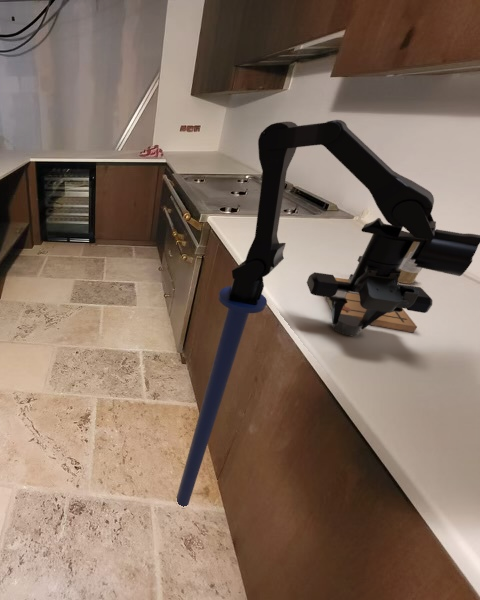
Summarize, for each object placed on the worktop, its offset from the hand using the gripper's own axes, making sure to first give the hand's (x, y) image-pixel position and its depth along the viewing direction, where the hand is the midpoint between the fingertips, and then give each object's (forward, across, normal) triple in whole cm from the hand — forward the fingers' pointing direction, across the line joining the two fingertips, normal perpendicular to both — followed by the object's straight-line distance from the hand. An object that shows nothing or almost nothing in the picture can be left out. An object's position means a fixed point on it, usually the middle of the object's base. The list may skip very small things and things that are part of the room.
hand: (346, 325), depth 68 cm
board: (+1, +6, +14) cm, 15 cm away
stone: (+1, 0, 0) cm, 1 cm away
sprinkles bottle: (+1, +20, +32) cm, 38 cm away
